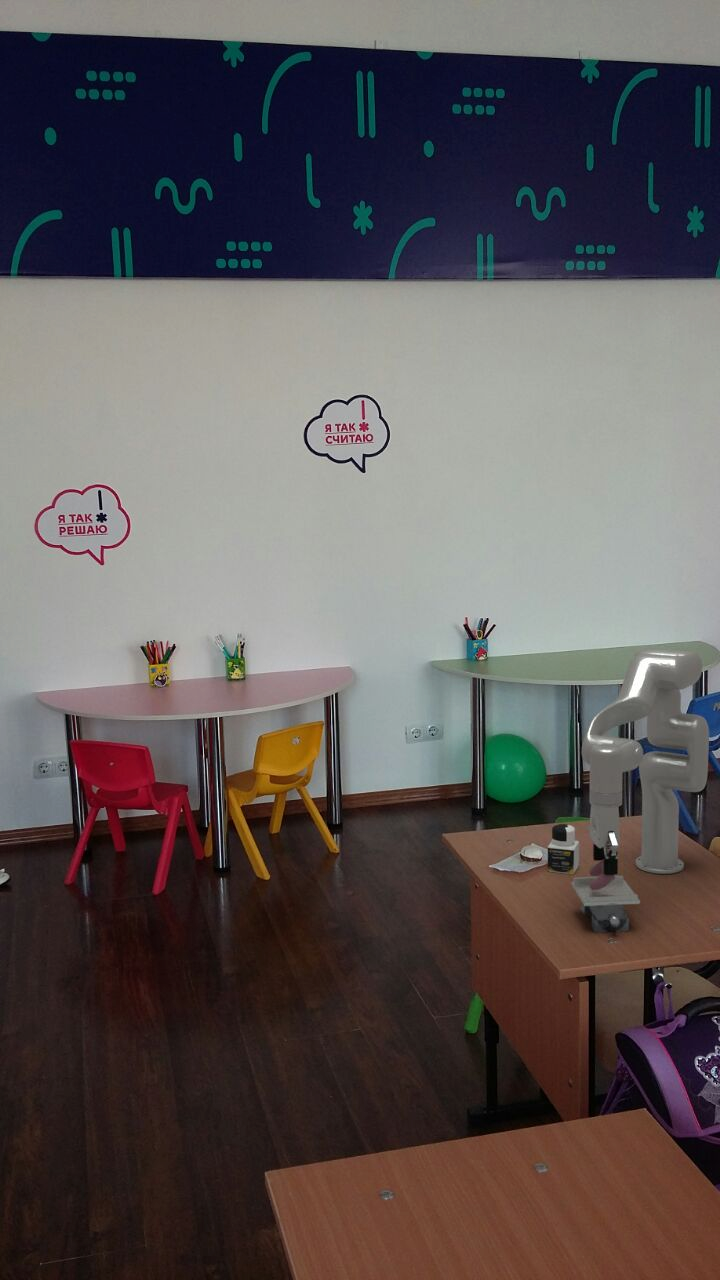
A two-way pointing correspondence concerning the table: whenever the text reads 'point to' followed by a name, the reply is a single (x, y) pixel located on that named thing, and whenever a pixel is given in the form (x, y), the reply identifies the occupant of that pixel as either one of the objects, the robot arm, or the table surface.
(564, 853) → the medicine bottle
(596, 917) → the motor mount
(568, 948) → the table surface
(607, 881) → the video game controller
